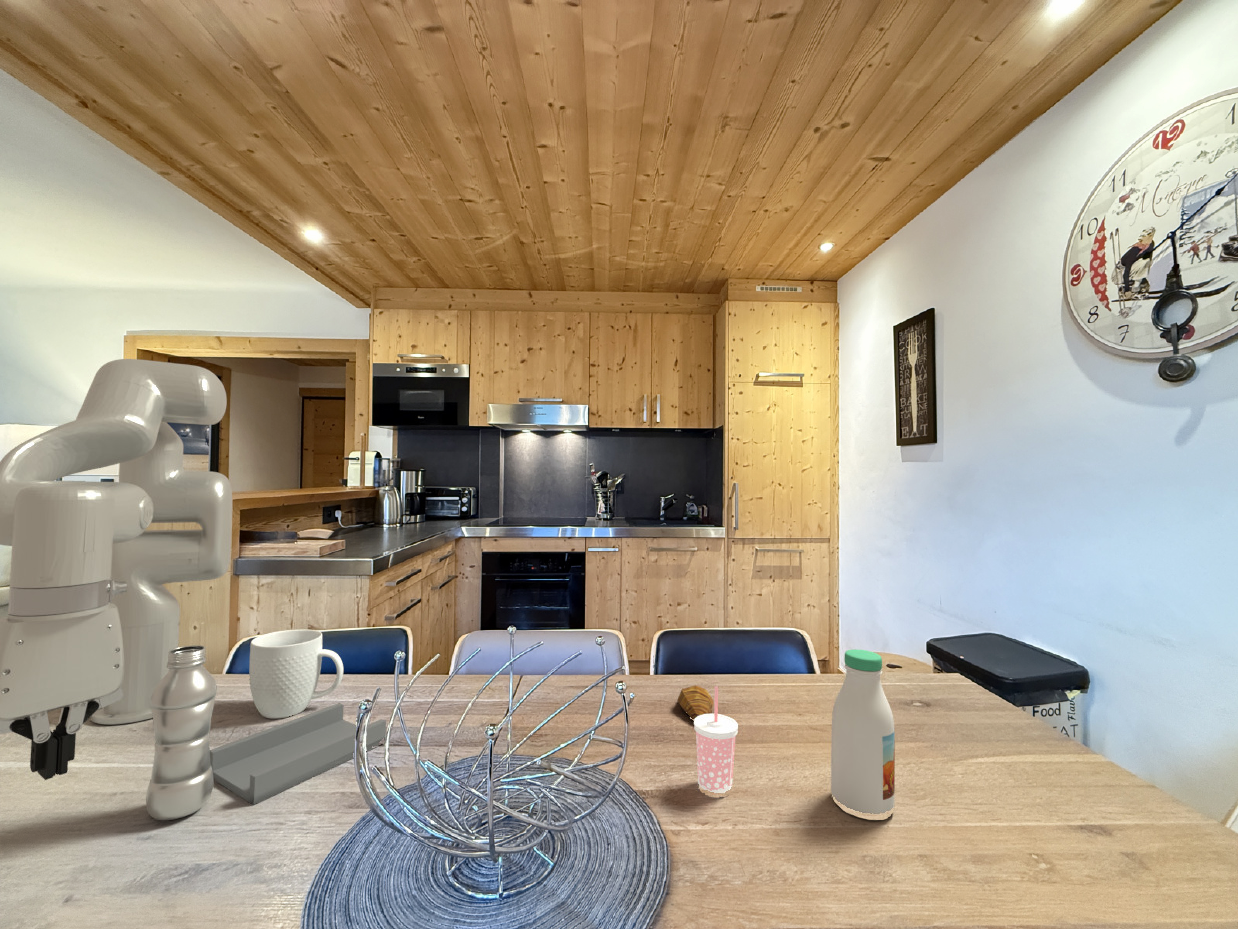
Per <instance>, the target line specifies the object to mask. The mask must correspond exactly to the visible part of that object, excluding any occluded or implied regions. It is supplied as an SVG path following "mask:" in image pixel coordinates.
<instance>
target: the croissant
mask: <svg viewBox="0 0 1238 929" xmlns="http://www.w3.org/2000/svg"><path fill="white" fill-rule="evenodd" d="M677 697H678V698H677V699H676V700H677V702H678V704H679V705H680V707H681V708H682V710H683V711H684V713H685V712H687V714H688V715H689V716H690V717H691V718H692V719H695V718H696V717H698V716H700V715H703V714H713V710H712V708H713V706H714V699H713V698H712V696H711V694H710V693H709V691H708V690H707V689H706V688H704V687H701V686H699V685H691V686H688V687H684V688H683V687H682V688H681V690H680V693H679V695H678V696H677ZM687 714H686V715H687ZM688 715H687V716H688ZM689 716H688V717H689Z"/></svg>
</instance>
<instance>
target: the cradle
mask: <svg viewBox="0 0 1238 929" xmlns="http://www.w3.org/2000/svg"><path fill="white" fill-rule="evenodd" d="M344 706H345V705H344V704H343V703H340V702H338V703H336V704H333V705H331V706H328V707H325V708H322V709H319V710H316V711H314V712H311V713H308V714H305V715H303V716H300V717H297V718H294V719H291V720H289V721H286V722H283V723H280V724H278V725H276V726H273V727H269V728H266V729H264V730H261V731H259V732H257V733H254V734H251V735H248V736H245V737H243V738H239V739H237V740H234V741H232V742H230V743H225V744H223V745H221V746H218V747H215V748H212V749H210V764H211V767H212V771H213V779H214V782H217V783H218V784H220V785H222V786H223V787H225V788H226V789H228V790H229V791H230V792H233V793H234V794H235V795H237V796H238V797H240V798H242V799H244V800H245V801H246V802H249V803H250V804H252V806H255V805H257V804H260V803H261V802H264V801H266V800H268V799H270V798H272V797H274V796H276V795H279V794H280V793H283V792H284V791H285V792H286V791H287V790H290V789H291V788H293V787H296V786H297V785H298V786H299V785H300V784H302V783H304V782H306V781H308V780H311V779H313V778H315V777H317V776H319V775H321V774H324V773H325V772H328V771H330V770H331V769H332V770H333V768H337V767H338V766H340V765H342V764H344V763H347V762H348V761H351V760H352V759H354V758H353V753H354V739H355V733H356V725H357V724H355V723H353V722H349V721H348V720H345V719H344ZM366 725H367V751H368V752H370V751H372V750H373V749H372V746H373V747H374V746H378V744H379V742H380V741H381V740H382V739H383V738H384V740H385V741H386V733H387V732H386V731H387V721H386V720H385V719H378V720H376V721H373V722H372V723H369V724H366ZM371 749H372V750H371ZM312 777H313V778H312ZM301 782H302V783H301Z"/></svg>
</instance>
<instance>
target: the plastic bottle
mask: <svg viewBox="0 0 1238 929" xmlns="http://www.w3.org/2000/svg"><path fill="white" fill-rule="evenodd" d="M206 662H207V657H206V646H205V645H197V644H195V645H193V644H192V645H186V646H185V645H184V646H180V647H179V646H178V648H175V649H173V650H171V651H169V653H168V662H167V668H169V672H168V673H167V674H166V675H165V676H164V677H163V679H162V680H161V681H160V682H159V684H158V685H157V686H156V688H155V689H154V691H153V694H152V696H151V706H152V714H153V718H152V719H153V720H152V721H153V727H154V757H153V758H154V759H153V763H152V770H151V777H150V780H149V783H148V787H147V792H146V797H145V805H146V810H147V812H148V814H149V816H151V817H152V818H153V819H154V820H158V821H172V820H176V819H180V818H184V817H186V816H189V815H192V814H194V813H195V812H197V811H199V810H201V809H202V808H203V807H204V806H205V805H206V804H207V802H208V801H209V800H210V798H211V796H212V793H213V788H214V785H215V780H214V779H213V771H212V767H211V764H210V750H211V748H210V738H211V737H210V736H211V732H210V730H211V725H212V715H213V712H214V707H215V701H216V696H217V690H218V685H217V683H216V679H215V678H214V677H213V676H212V674H211V672H209V670H207V669H206V668H205V666H204V665H203V664H205V663H206Z"/></svg>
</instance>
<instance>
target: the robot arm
mask: <svg viewBox="0 0 1238 929" xmlns="http://www.w3.org/2000/svg"><path fill="white" fill-rule="evenodd" d="M227 402H228V401H227V392H226V390H225V387H224V384H223V382H222V381H221V380H220V379H219V378H218V376H217V375H216V374H215V373H213V372H212V371H211V370H209V369H207V368H205V367H202V366H198V365H193V364H192V365H191V364H185V363H184V364H183V363H174V362H164V361H158V360H157V361H156V360H147V359H138V358H120V359H119V358H117V359H114V360H111V361H108V362H106V363H104V364H103V365H102V366H100V368H99V369H98V370H97V371H96V373H95V375H94V377H93V380H92V382H91V383H90V386H89V389H88V390H87V393H86V395H85V397H84V400H83V402H82V404H81V408H80V409H79V411H78V413H77V416H76V419H75V420H71V421H68V422H66V423H63V424H61V425H58V426H56V427H53V428H51V429H49V430H45V431H43V432H42V433H39V434H38V435H35V436H33V437H31V438H29V439H27V440H24V442H21V443H19V444H18V445H17V446H15V447H14V448H11V450H10V451H9V452H7V453H6V454H5V455H4V456H3V457H2V458H1V460H0V545H1V546H7V547H10V546H11V557H10V559H11V561H10V576H9V577H10V578H9V591H8V592H9V593H8V594H9V595H8V609H7V612H8V613H7V615H5V616H4V615H3V616H0V734H1V735H3V734H4V735H5V734H9V733H15V734H17V735H19V736H20V737H21V736H22V737H24V738H26V739H29V740H31V742H30V743H31V744H30V760H29V766H30V767H29V768H30V771H31V772H32V773H37V774H38V775H40V777H41V778H42V779H44V781H46V780H50V779H53V778H54V776H57V775H58V776H62V775H65V774H67V773H68V770H69V769H68V768H69V762H71V761H74V760H75V756H76V755H75V754H76V738H77V736H76V735H77V733H78V732H80V731H81V729H82V727H83V725H84V724H85V723H86V722H87V721H88V720H89V718H90V720H91V722H93V723H95V724H98V725H123V724H131V723H136V722H140V721H145V720H150V719H153V714H152V706H151V696H152V694H153V691H154V689H155V688H156V686H157V685H158V684H159V682H160V681H161V680H162V679H163V677H164V676H165V675H166V674H167V673H168V672H169V668H167V662H168V653H169V651H171V650H173V649H175V648H179V639H180V637H179V636H180V620H181V619H180V617H181V607H180V603H179V601H178V599H177V598H176V597H175V595H174V594H173V593H172V592H170V590H168V589H167V588H166V587H165V586H164V585H165V584H171V583H187V582H201V581H203V582H204V581H213V580H216V579H220V578H222V577H223V576H225V574H226V573H227V572H228V570H229V567H230V563H231V556H232V555H231V554H232V553H231V552H232V527H233V526H232V525H233V523H232V522H233V489H232V485H231V482H230V479H229V478H228V477H227V476H226V475H225V474H223V473H220V472H217V471H207V470H206V471H205V470H186V469H184V442H183V440H182V438H181V437H180V436H179V434H178V433H177V432H176V431H175V430H174V428H172V427H171V425H170V424H168V423H174V424H186V425H187V424H188V425H189V424H190V425H205V426H206V425H208V426H210V425H216V424H218V423H219V422H220V421H221V420H222V419H223V417H224V415H225V414H226V409H227V404H228V403H227ZM114 465H119V468H118V472H119V473H118V481H85V480H60V479H61V478H65V477H68V476H71V475H74V474H79V473H83V472H86V471H92V470H98V469H103V468H107V467H111V466H114ZM170 523H172V524H173V523H176V524H177V523H178V524H179V523H189V524H190V523H195V524H198V525H199V526H200V527H201V528H200V529H151V530H147V529H148V528H149V526H151V524H170ZM59 709H60V715H59V718H58V723H57V725H56V726H55V728H54V729H53V730H51V728H50V727H51V726H50V722H49V717H48V716H49V714H48V712H51V711H55V710H59Z"/></svg>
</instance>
